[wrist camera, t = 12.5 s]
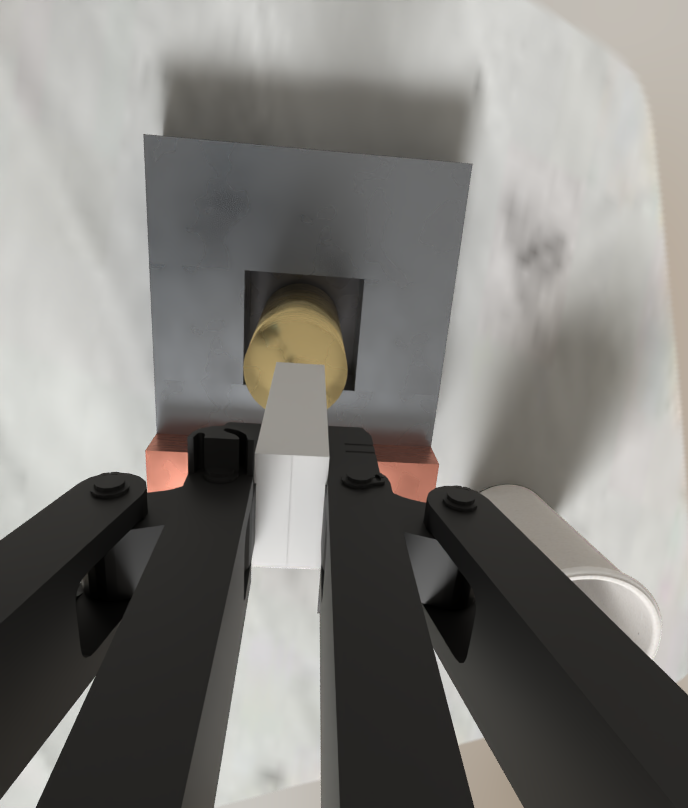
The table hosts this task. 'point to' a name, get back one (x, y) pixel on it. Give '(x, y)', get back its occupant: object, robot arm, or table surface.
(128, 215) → the table surface
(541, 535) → the dixie cup
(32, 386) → the table surface
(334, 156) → the jig
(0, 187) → the table surface
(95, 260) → the table surface
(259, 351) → the brass cylinder
